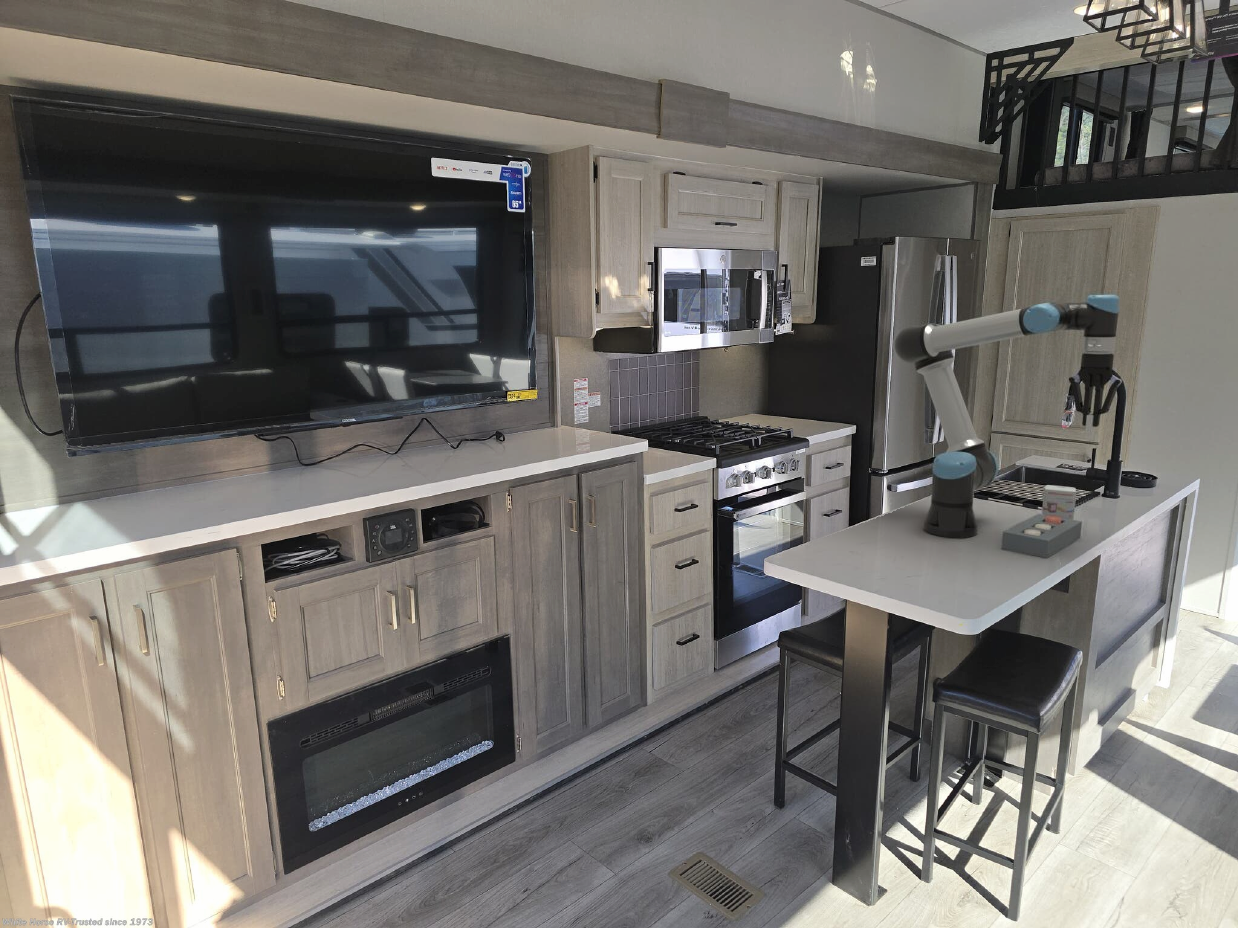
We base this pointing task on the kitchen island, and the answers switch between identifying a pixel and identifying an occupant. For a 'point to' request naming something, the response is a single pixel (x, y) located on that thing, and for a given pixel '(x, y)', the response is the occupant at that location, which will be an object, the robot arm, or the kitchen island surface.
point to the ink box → (1059, 501)
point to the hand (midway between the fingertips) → (1089, 437)
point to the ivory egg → (1032, 532)
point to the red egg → (1053, 519)
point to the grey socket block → (1041, 536)
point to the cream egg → (1043, 526)
